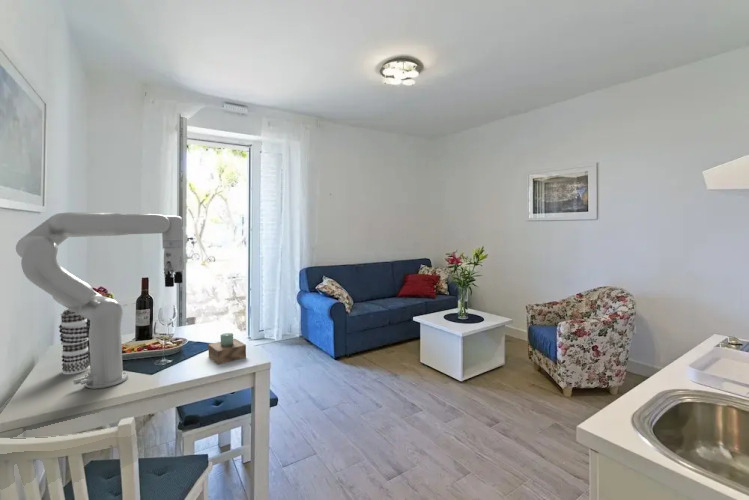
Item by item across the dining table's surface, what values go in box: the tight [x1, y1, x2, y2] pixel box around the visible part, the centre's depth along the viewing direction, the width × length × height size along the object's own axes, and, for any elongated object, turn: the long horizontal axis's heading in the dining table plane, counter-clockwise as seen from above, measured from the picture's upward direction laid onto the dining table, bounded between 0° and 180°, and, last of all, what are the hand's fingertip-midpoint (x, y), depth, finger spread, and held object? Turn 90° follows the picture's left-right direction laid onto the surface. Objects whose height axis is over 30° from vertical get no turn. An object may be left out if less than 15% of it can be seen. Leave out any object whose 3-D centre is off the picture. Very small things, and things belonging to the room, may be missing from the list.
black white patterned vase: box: [58, 308, 90, 375], centre depth 140 cm, size 9×9×25 cm
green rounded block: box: [220, 332, 234, 347], centre depth 154 cm, size 5×5×4 cm
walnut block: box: [207, 338, 247, 365], centre depth 155 cm, size 12×12×6 cm
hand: (174, 284), depth 149 cm, fingers open, 9 cm apart
